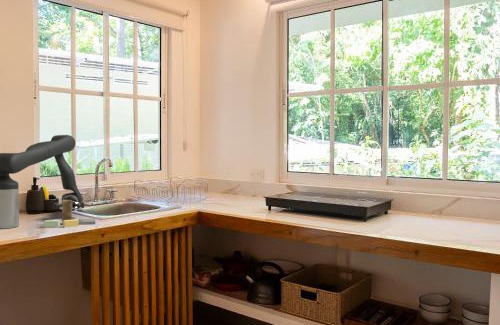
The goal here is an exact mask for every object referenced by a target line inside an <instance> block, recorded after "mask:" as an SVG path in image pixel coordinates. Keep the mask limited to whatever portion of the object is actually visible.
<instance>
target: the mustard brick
mask: <svg viewBox="0 0 500 325" xmlns="http://www.w3.org/2000/svg"><path fill="white" fill-rule="evenodd" d="M62 226H63V228H73V227H74V228H76V227H79V220H78V218H76V219H72V220H63V225H62Z"/></svg>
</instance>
